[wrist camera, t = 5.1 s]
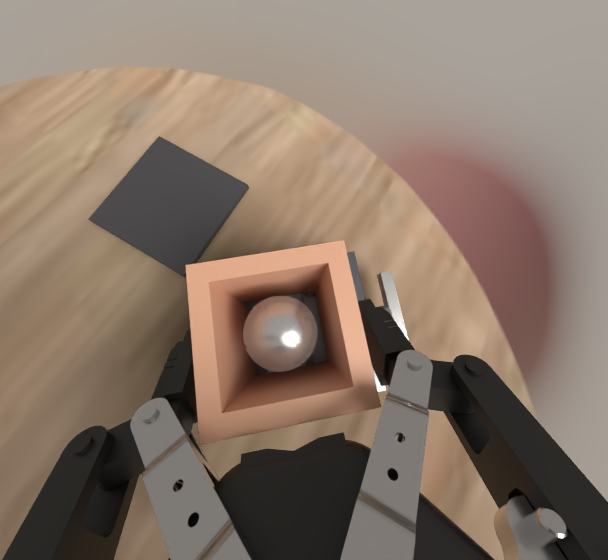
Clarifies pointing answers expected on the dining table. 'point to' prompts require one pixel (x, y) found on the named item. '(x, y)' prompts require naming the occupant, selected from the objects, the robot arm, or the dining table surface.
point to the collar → (240, 366)
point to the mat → (170, 205)
